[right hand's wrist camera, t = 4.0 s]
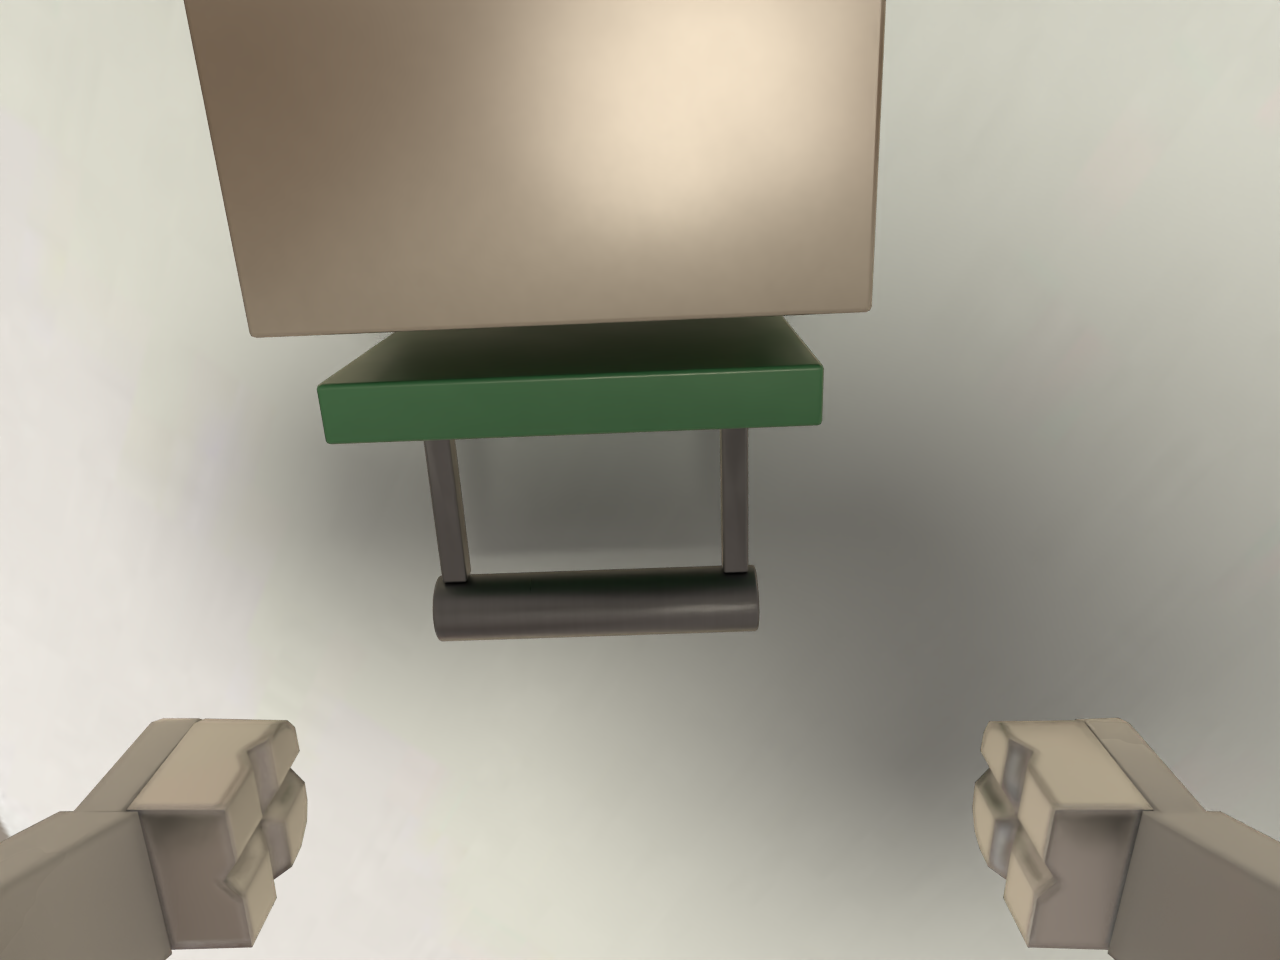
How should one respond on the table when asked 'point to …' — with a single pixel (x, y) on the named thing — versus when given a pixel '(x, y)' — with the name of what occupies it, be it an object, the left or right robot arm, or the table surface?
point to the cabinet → (543, 159)
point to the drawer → (572, 405)
